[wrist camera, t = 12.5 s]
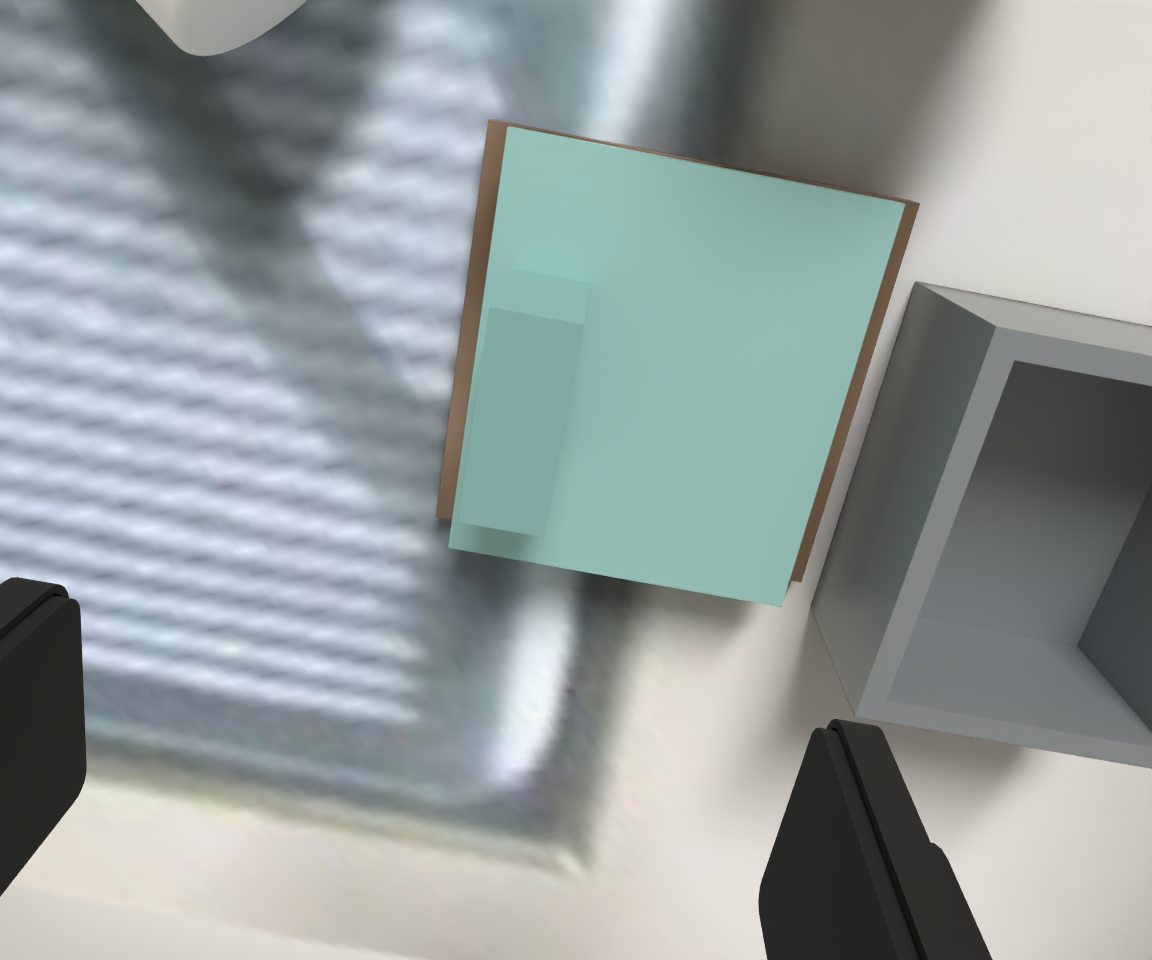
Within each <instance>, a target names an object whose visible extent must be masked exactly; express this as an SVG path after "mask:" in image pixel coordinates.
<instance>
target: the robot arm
mask: <svg viewBox="0 0 1152 960" xmlns="http://www.w3.org/2000/svg"><path fill="white" fill-rule="evenodd" d="M85 776H86V742H85V716H84V691H83V666H82V640H81V615H80V606H79V604H78V602H77V601H76V600H74V599H70V598H69V596H68V592H67V591H66V589H65V587H63V586H62V585H59V584H53V583H47V582H41V581H36V580H30V579H24V578H18V577H15V578H10V579H8V580H6V581H4V582H3V583H2V584H0V896H1V895H2V894H3V892H4V891H5V890H6V889H7V887H8V886H9V885H10V884H11V882H12V881H13V880H14V878H15V877H16V876H17V875H18V873H19V872H20V871H21V869H22V868H23V867H24V866H25V864H26V863H27V862H28V860H29V859H30V858H31V857H32V855H33V854H34V853H35V852H36V850H37V849H38V848H39V846H40V845H41V844H42V843H43V841H44V840H45V839H46V837H47V836H48V835H49V834H50V832H51V831H52V830H53V829H54V827H55V826H56V825H57V823H58V822H59V821H60V820H61V818H62V817H63V816H64V814H65V813H66V812H67V811H68V809H69V808H70V807H71V806H72V804H73V803H74V802H75V800H76V799H77V797H78V796H79V793H80V791H81V789H82V787H83V784H84V781H85ZM759 915H760V921H761V927H762V932H763V938H764V943H765V949H766V954H767V960H992V958H991V955H990V953H989V951H988V949H987V946H986V944H985V942H984V940H983V937H982V935H981V933H980V931H979V928H978V926H977V924H976V922H975V919H974V917H973V915H972V913H971V910H970V908H969V906H968V904H967V901H966V899H965V897H964V895H963V892H962V890H961V888H960V886H959V883H958V881H957V879H956V877H955V874H954V872H953V870H952V868H951V865H950V863H949V861H948V859H947V857H946V856H945V854H944V852H943V851H942V849H941V848H940V847H938V846H937V845H936V844H934V843H931V842H930V840H929V838H928V835H927V833H926V831H925V828H924V826H923V824H922V822H921V819H920V817H919V815H918V812H917V810H916V808H915V805H914V803H913V801H912V798H911V796H910V794H909V791H908V789H907V787H906V784H905V782H904V780H903V778H902V775H901V773H900V771H899V768H898V766H897V764H896V761H895V759H894V757H893V754H892V752H891V750H890V747H889V745H888V743H887V740H886V738H885V736H884V734H883V732H882V730H881V729H880V728H879V727H877V726H873V725H868V724H862V723H856V722H850V721H845V720H839V719H834V720H832V721H831V722H830V723H829V724H828V726H827V729H823V728H816V729H815V730H814V731H813V733H812V735H811V738H810V741H809V744H808V746H807V749H806V752H805V755H804V758H803V761H802V764H801V767H800V770H799V773H798V776H797V779H796V782H795V785H794V787H793V790H792V793H791V796H790V799H789V802H788V805H787V808H786V811H785V814H784V817H783V820H782V823H781V825H780V828H779V831H778V834H777V837H776V840H775V843H774V846H773V849H772V852H771V855H770V858H769V861H768V864H767V866H766V869H765V872H764V875H763V878H762V881H761V885H760V891H759Z"/></svg>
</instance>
